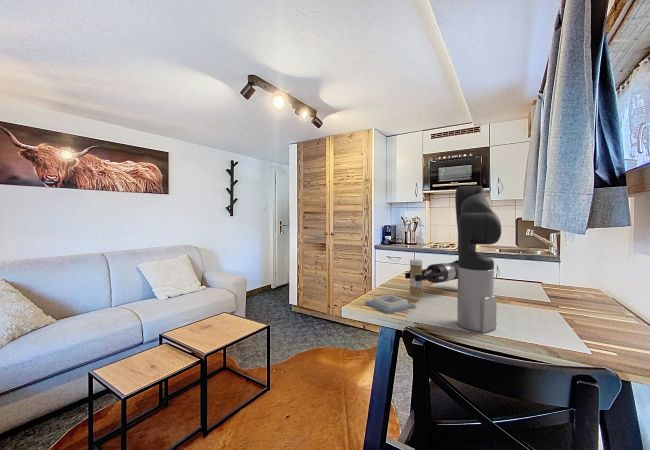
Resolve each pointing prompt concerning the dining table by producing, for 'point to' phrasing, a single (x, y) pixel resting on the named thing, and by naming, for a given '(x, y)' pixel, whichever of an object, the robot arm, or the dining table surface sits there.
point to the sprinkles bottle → (414, 270)
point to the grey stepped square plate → (390, 304)
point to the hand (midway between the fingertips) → (410, 277)
